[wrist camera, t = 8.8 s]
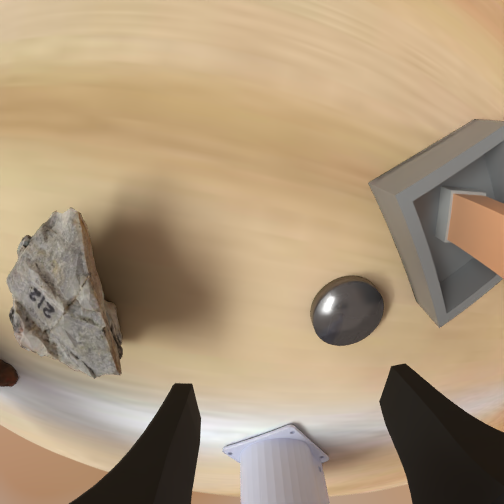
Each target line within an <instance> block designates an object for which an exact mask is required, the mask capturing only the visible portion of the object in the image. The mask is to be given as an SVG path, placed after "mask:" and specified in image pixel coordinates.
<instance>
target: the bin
mask: <svg viewBox="0 0 504 504" xmlns="http://www.w3.org/2000/svg"><path fill="white" fill-rule="evenodd" d="M368 184H369V186H370V188H371V190H372V192H373V194H374V196H375V198H376V201H377V203H378V205H379V207H380V209H381V212H382V214H383V216H384V218H385V221H386V223H387V225H388V228H389V230H390V232H391V235H392V237H393V240H394V242H395V245H396V247H397V250H398V252H399V255H400V257H401V260H402V263H403V265H404V268H405V271H406V273H407V276H408V279H409V282H410V284H411V287H412V290H413V293H414V296H415V299H416V302H417V303H418V304H419V305H420V306H421V307H422V308H423V310H424V311H425V312H426V313H427V314H428V315H429V317H430V318H431V319H432V320H433V321H434V322H435V324H436V325H437V326H438V327H439V328H440V327H442V326H443V325H444V324H446V323H447V322H449V321H450V320H451V319H453V318H454V317H456V316H457V315H458V314H460V313H461V312H462V311H464V310H465V309H466V308H468V307H469V306H470V305H471V304H473V303H474V302H475V301H477V300H478V299H479V298H480V297H482V296H483V295H484V294H485V293H487V292H488V291H489V290H490V289H491V288H493V287H494V286H495V285H496V284H497V283H498V282H500V281H501V280H502V279H503V278H502V277H500V276H499V275H498V274H496V273H495V272H494V271H492V270H491V269H490V268H488V267H487V266H485V265H484V264H483V263H481V262H480V261H478V260H477V259H475V258H474V257H473V256H471V255H470V254H468V253H467V252H465V251H464V250H462V249H461V248H459V247H458V246H456V245H455V244H453V243H452V242H447V243H444V242H443V241H441V240H440V239H438V238H437V237H435V233H436V226H437V218H438V210H439V201H440V190H441V186H444V187H458V188H471V189H477V190H480V191H483V192H485V193H486V197H489V198H491V199H494V200H496V201H499V202H501V203H504V121H493V120H480V119H474V120H472V121H471V122H469V123H467V124H466V125H464V126H462V127H461V128H459V129H457V130H456V131H454V132H452V133H451V134H449V135H447V136H446V137H444V138H442V139H441V140H439V141H437V142H436V143H434V144H432V145H431V146H429V147H427V148H426V149H424V150H422V151H421V152H419V153H417V154H416V155H414V156H412V157H411V158H409V159H407V160H406V161H404V162H402V163H401V164H399V165H397V166H396V167H394V168H392V169H390V170H389V171H387V172H385V173H384V174H382V175H380V176H379V177H377V178H375V179H374V180H372V181H370V182H369V183H368Z"/></svg>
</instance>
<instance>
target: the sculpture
mask: <svg viewBox="0 0 504 504" xmlns="http://www.w3.org/2000/svg"><path fill="white" fill-rule="evenodd" d="M18 378H19V377H18V374H17V372H16V370H15V369H14V368H13V367H12V366H11V365H9V364H7V363H5V362H3V361H2V360H0V386H3V387H4V386H10V387H12V386H13V385H15V384H16V382H17V380H18Z"/></svg>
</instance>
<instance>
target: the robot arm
mask: <svg viewBox="0 0 504 504" xmlns="http://www.w3.org/2000/svg"><path fill="white" fill-rule="evenodd" d="M379 402H380V406H381V410H382V413H383V417H384V420H385V424H386V426H387V429H388V431H389V434H390V436H391V438H392V441H393V443H394V446H395V448H396V450H397V453H398V455H399V458H400V460H401V462H402V465H403V467H404V470H405V473H406V477H407V480H408V485H409V489H410V493H411V498H412V503H413V504H504V432H501V431H499V430H497V429H495V428H493V427H491V426H489V425H487V424H485V423H483V422H482V421H480V420H478V419H476V418H475V417H473V416H471V415H470V414H468V413H467V412H465V411H464V410H463V409H461V408H460V407H458V406H457V405H455V404H454V403H453V402H451V401H450V400H449V399H448V398H446V397H445V396H444V395H442V394H441V393H440V392H439V391H438V390H436V389H435V388H434V387H433V386H432V385H430V384H429V383H428V382H427V381H426V380H424V379H423V378H422V377H421V376H420V375H419V374H417V373H416V372H415V371H414V370H413V369H411V368H410V367H409V366H408V365H406V364H400V365H395V366H391V369H390V372H389V375H388V378H387V381H386V384H385V387H384V390H383V393H382V396H381V399H380V401H379ZM200 429H201V417H200V413H199V409H198V405H197V401H196V397H195V393H194V389H193V385H192V384H180V383H175V384H174V385H173V386H172V388H171V390H170V392H169V393H168V395H167V397H166V399H165V400H164V402H163V404H162V405H161V407H160V409H159V410H158V412H157V413H156V415H155V416H154V418H153V419H152V421H151V422H150V424H149V425H148V427H147V428H146V430H145V431H144V433H143V434H142V435H141V436H140V438H139V439H138V440H137V442H136V443H135V444H134V445H133V447H132V448H131V449H130V450H129V452H128V453H127V454H126V455H125V456H124V457H123V458H122V460H121V461H120V462H119V463H118V464H117V465H116V466H115V467H114V468H113V469H112V470H111V471H110V472H109V473H108V474H107V475H105V476H104V477H103V478H102V479H101V480H100V481H99V482H98V483H97V484H96V485H94V486H93V487H92V488H90V489H89V490H88V491H86V492H85V493H83V494H82V495H81V496H79V497H78V498H77V499H75V500H74V501H72V502H71V503H69V504H191V495H192V488H193V482H194V476H195V470H196V464H197V457H198V451H199V445H200ZM223 452H224V453H225V454H227V455H228V456H230V457H231V458H233V459H234V460H236V461H237V462H239V463H240V489H241V504H330V502H329V497H328V492H327V487H326V482H325V477H324V472H323V467H322V463H323V462H326V461H328V460H329V456H328V455H326V454H325V453H324V452H323V451H322V450H321V449H320V448H318V447H317V446H316V445H315V444H314V443H313V442H312V441H311V440H310V439H308V438H307V437H306V436H305V435H304V434H303V433H302V432H301V431H300V430H299V429H298V428H296V427H295V426H294V425H287V426H284V427H281V428H279V429H276V430H273V431H271V432H268V433H265V434H262V435H260V436H257V437H254V438H251V439H248V440H245V441H242V442H239V443H236V444H232V445H229V446H226V447H223Z"/></svg>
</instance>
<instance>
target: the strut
mask: <svg viewBox="0 0 504 504" xmlns="http://www.w3.org/2000/svg"><path fill="white" fill-rule="evenodd" d="M435 237H437V238H438V239H440V240H441V241H443V242H444V243H447V242H452V243H453V244H455V245H456V246H458V247H459V248H461V249H462V250H464V251H465V252H467V253H468V254H470V255H471V256H473V257H474V258H475V259H477V260H478V261H480V262H481V263H483V264H484V265H485V266H487V267H488V268H490V269H491V270H492V271H494V272H495V273H496V274H498V275H499V276H500V277H502V278H503V279H504V203H501V202H499V201H496V200H494V199H491V198H489V197H486V193H485V192H483V191H480V190H477V189H471V188H458V187H444V186H441V190H440V201H439V210H438V218H437V226H436V233H435Z"/></svg>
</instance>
